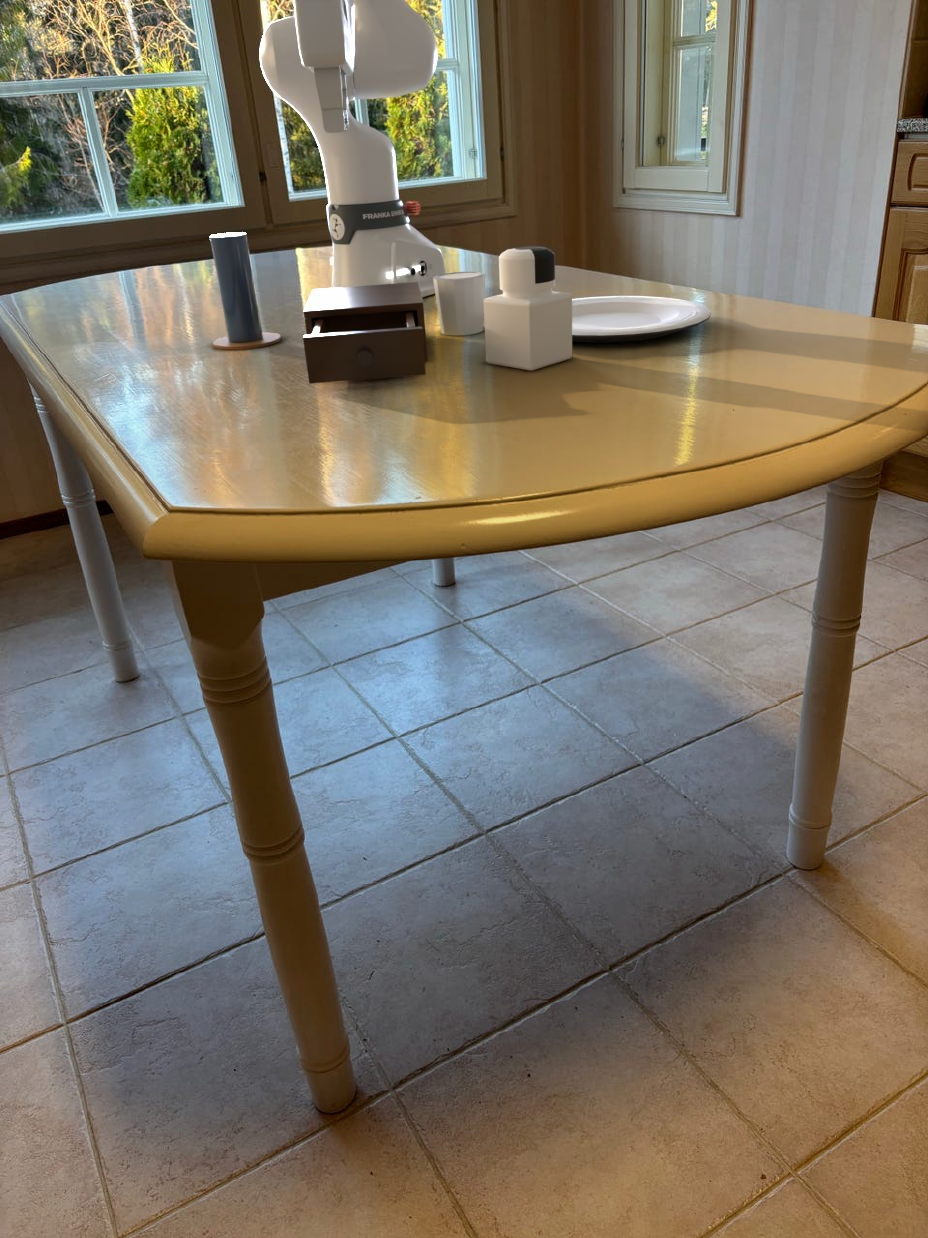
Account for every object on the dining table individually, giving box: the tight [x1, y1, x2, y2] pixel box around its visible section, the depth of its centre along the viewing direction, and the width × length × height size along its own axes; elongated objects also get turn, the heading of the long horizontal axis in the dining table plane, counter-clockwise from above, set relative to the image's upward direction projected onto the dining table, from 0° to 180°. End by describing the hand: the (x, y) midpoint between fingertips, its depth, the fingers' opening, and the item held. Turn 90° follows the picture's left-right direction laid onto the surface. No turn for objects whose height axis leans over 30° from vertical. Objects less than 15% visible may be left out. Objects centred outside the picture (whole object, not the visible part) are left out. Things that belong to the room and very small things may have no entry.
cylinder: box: [209, 232, 263, 343], centre depth 117 cm, size 5×5×13 cm
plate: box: [572, 295, 712, 344], centre depth 115 cm, size 25×25×2 cm
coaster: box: [212, 331, 282, 351], centre depth 120 cm, size 9×9×1 cm
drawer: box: [302, 311, 427, 384], centre depth 100 cm, size 16×12×5 cm
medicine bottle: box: [483, 246, 573, 372], centre depth 99 cm, size 7×7×12 cm
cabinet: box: [302, 282, 428, 362], centre depth 110 cm, size 16×14×7 cm
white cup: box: [433, 271, 486, 336], centre depth 117 cm, size 7×7×7 cm
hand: (337, 132), depth 80 cm, fingers open, 8 cm apart
